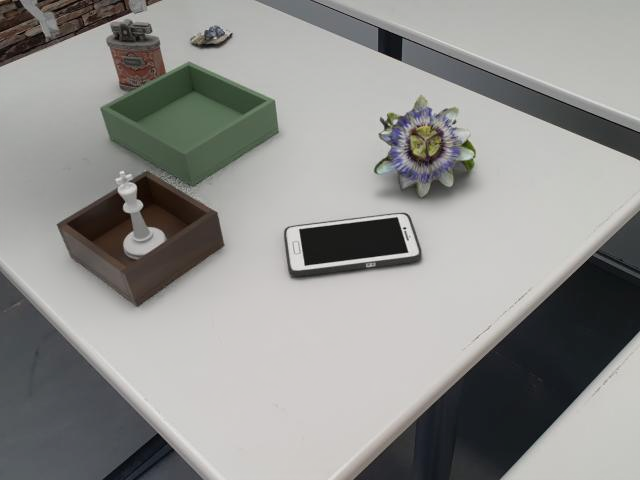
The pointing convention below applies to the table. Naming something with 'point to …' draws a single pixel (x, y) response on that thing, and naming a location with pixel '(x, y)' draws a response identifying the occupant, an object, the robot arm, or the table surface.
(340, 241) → the cell phone
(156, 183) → the walnut bin
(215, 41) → the mineral rock specimen
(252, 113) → the sage bin
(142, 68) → the lighter
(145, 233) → the chess piece
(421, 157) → the passion flower
